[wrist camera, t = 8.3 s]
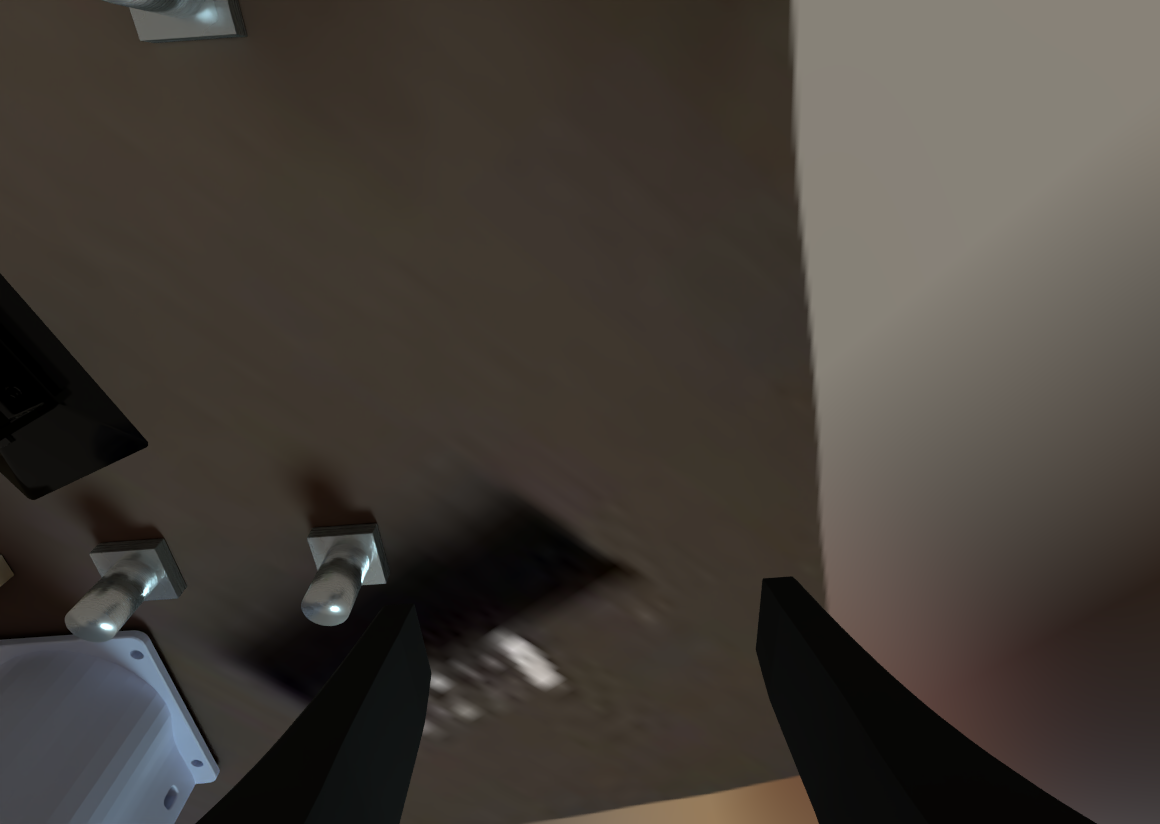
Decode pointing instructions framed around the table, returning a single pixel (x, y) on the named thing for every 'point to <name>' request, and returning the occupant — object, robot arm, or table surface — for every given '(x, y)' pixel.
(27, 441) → the black boxy piece
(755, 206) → the table surface
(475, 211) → the table surface
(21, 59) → the table surface
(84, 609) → the guide pins
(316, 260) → the table surface
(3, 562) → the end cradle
